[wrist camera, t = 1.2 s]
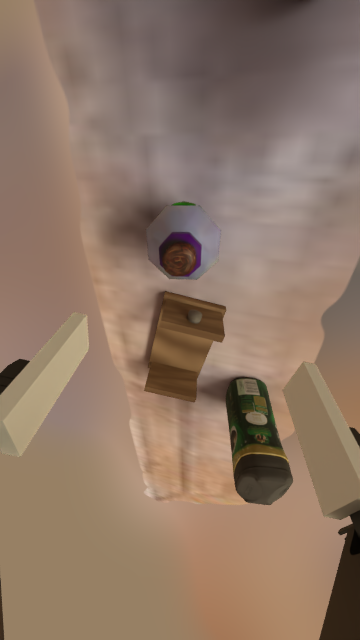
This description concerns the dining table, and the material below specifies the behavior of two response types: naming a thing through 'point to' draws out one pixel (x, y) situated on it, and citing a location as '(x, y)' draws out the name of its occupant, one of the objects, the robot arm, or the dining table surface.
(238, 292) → the dining table surface
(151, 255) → the potion bottle
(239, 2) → the dining table surface
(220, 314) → the holder
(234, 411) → the coffee jar
